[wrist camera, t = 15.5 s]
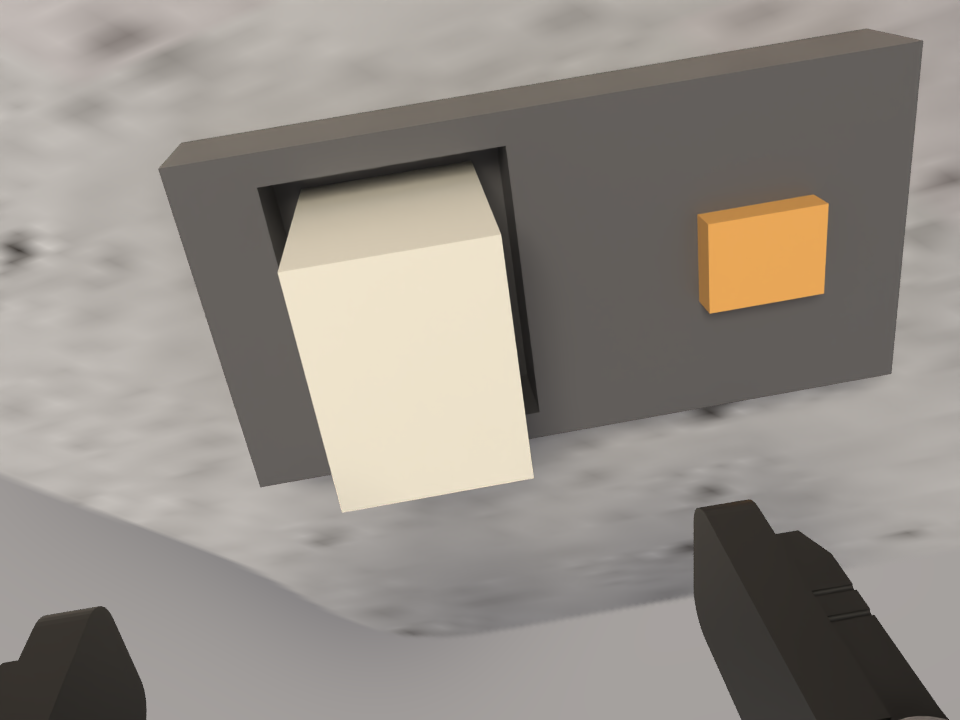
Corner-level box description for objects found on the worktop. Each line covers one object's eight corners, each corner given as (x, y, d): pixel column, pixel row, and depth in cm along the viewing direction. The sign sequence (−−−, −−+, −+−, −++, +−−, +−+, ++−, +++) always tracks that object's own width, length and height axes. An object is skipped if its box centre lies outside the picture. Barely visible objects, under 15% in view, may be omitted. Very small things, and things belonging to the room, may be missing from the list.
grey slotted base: (181, 142, 22) (150, 178, 19) (866, 28, 22) (942, 45, 19) (270, 437, 26) (257, 504, 23) (846, 334, 27) (906, 387, 24)
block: (300, 189, 22) (277, 272, 17) (471, 160, 22) (501, 234, 17) (349, 387, 25) (342, 512, 20) (500, 361, 25) (533, 478, 20)
